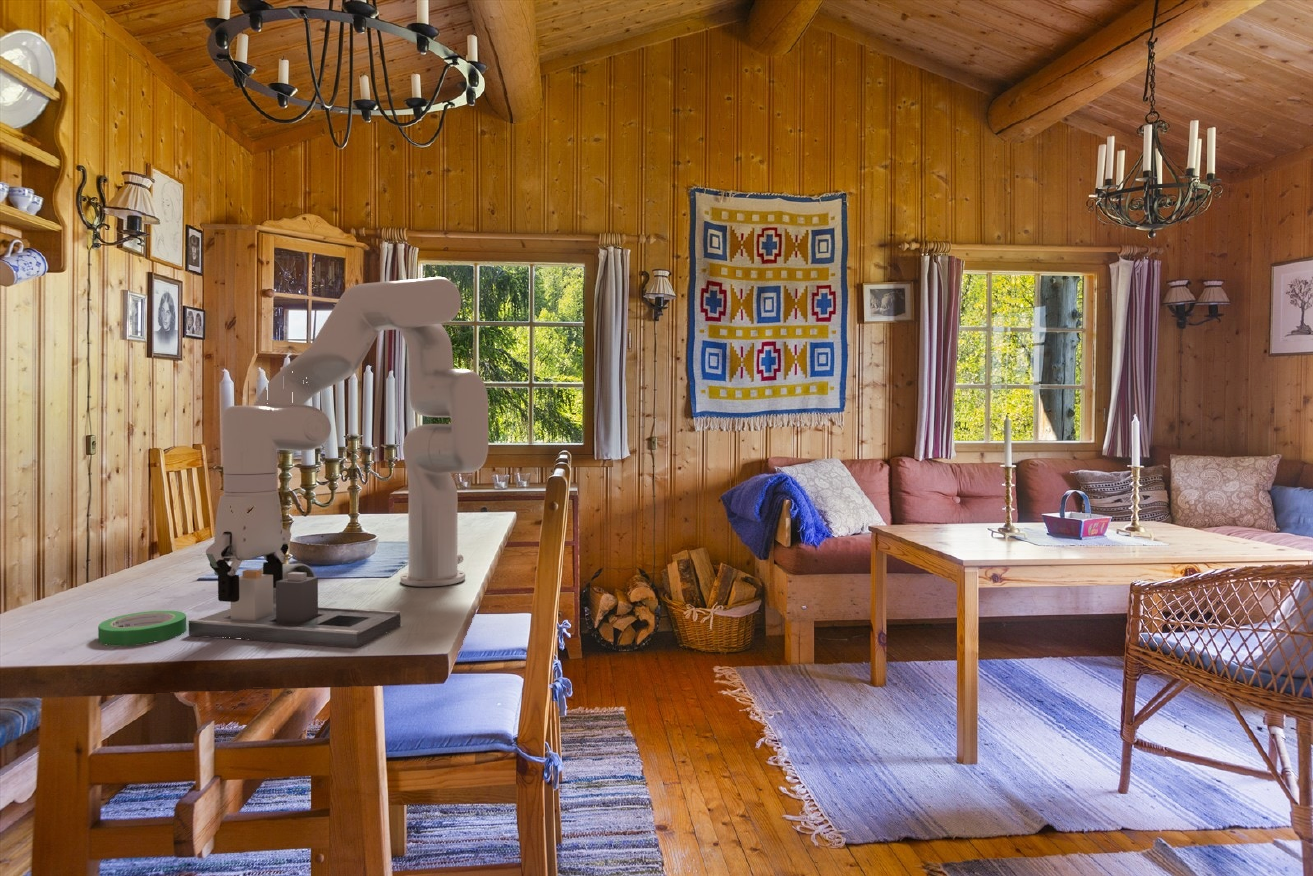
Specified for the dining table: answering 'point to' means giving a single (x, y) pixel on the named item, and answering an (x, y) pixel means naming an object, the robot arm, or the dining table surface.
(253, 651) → the dining table surface
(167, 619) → the tape roll
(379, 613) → the panel
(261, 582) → the white block orange tab
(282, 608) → the matte charcoal box
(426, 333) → the robot arm
